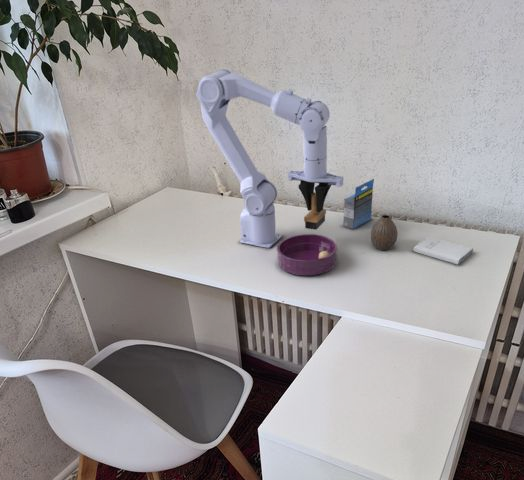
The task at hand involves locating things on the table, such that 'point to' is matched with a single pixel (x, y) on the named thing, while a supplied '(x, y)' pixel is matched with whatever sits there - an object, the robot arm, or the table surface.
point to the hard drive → (443, 250)
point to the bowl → (306, 254)
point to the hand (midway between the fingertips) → (315, 210)
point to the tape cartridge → (358, 206)
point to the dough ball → (323, 254)
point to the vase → (384, 233)
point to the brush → (314, 215)
